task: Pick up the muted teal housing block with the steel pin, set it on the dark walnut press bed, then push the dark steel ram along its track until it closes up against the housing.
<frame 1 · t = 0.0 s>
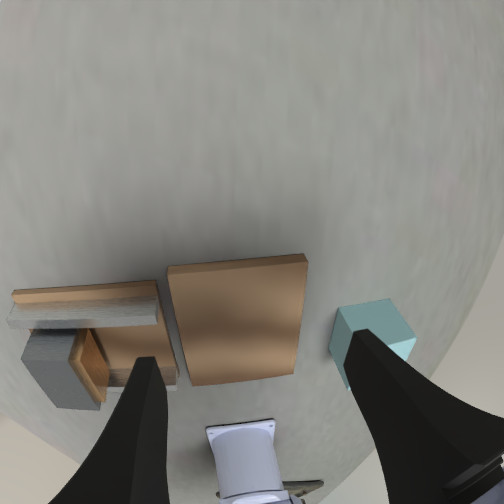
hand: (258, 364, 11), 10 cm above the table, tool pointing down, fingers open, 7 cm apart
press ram: (70, 366, 19), point 3 cm above the table, slide at 0.0 cm
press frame: (233, 326, 23), on the table
embossing press: (269, 487, 51), on the table
housing: (358, 323, 26), on the table
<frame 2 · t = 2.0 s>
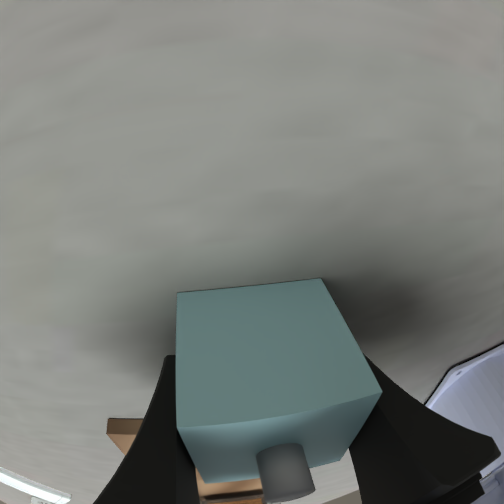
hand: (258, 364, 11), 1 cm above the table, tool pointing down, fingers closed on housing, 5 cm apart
hard drive: (24, 477, 23), on the table
skincare box: (49, 502, 29), on the table
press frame: (222, 449, 17), on the table
housing: (251, 336, 12), on the table, touching gripper
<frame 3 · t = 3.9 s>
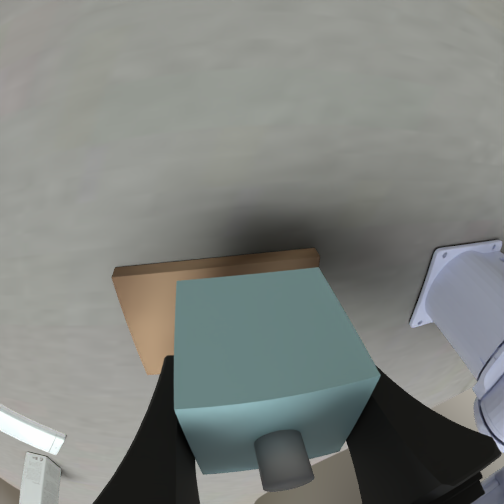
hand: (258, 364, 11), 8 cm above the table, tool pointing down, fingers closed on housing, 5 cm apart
hard drive: (19, 420, 26), on the table
skincare box: (44, 459, 32), on the table
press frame: (221, 320, 20), on the table
housing: (249, 326, 12), point 7 cm above the table, touching gripper
when the fingers open (3 cm above the table, at t = 6.0 s): housing stays where it is, resting on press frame.
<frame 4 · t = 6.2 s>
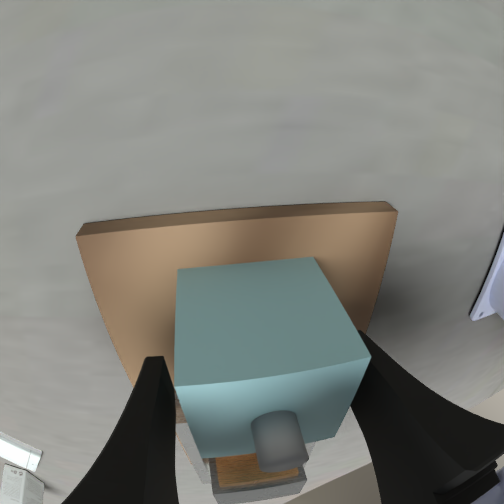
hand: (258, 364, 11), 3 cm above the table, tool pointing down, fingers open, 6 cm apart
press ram: (255, 470, 18), point 3 cm above the table, slide at 0.0 cm
skincare box: (25, 473, 25), on the table
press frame: (244, 312, 14), on the table
housing: (247, 314, 13), point 1 cm above the table, touching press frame
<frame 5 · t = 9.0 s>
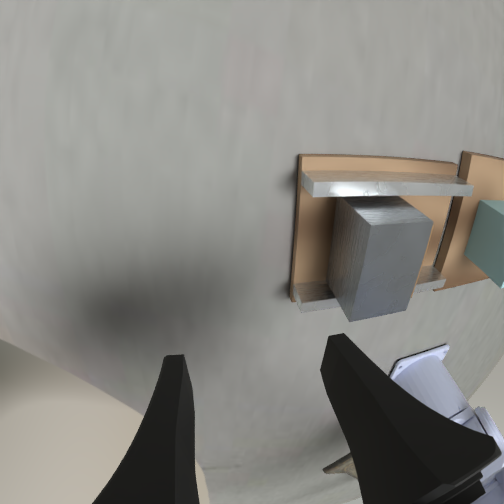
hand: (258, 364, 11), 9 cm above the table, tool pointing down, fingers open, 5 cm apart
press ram: (379, 254, 17), point 3 cm above the table, slide at 0.0 cm
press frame: (476, 221, 21), on the table
embossing press: (372, 454, 49), on the table
housing: (488, 226, 21), point 1 cm above the table, touching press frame
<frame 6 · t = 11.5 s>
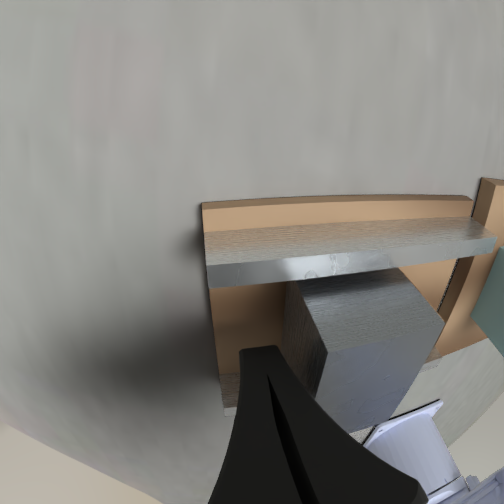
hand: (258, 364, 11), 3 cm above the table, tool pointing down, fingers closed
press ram: (353, 353, 11), point 3 cm above the table, slide at 0.8 cm, touching gripper
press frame: (490, 270, 15), on the table
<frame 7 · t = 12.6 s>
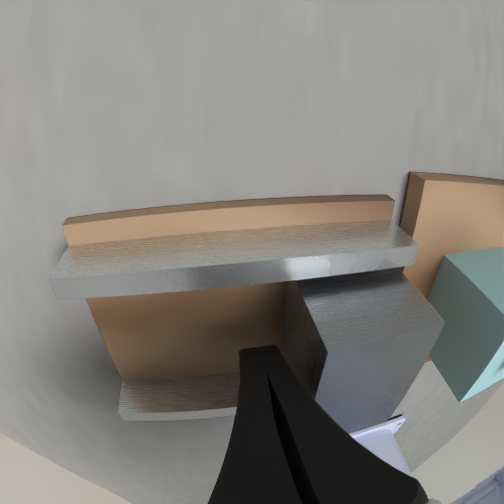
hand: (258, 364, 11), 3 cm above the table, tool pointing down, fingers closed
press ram: (353, 353, 11), point 3 cm above the table, slide at 5.7 cm, touching gripper
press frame: (440, 281, 15), on the table
housing: (460, 290, 14), point 1 cm above the table, touching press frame
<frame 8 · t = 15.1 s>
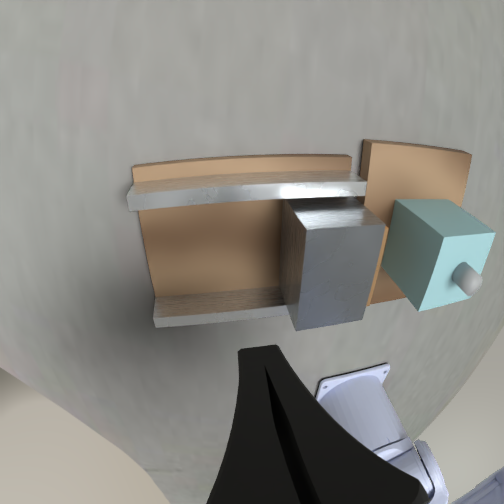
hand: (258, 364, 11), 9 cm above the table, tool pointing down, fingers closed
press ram: (330, 259, 17), point 3 cm above the table, slide at 5.8 cm
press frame: (400, 226, 20), on the table
housing: (416, 232, 20), point 1 cm above the table, touching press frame
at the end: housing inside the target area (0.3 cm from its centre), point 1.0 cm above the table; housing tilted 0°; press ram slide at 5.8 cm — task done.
